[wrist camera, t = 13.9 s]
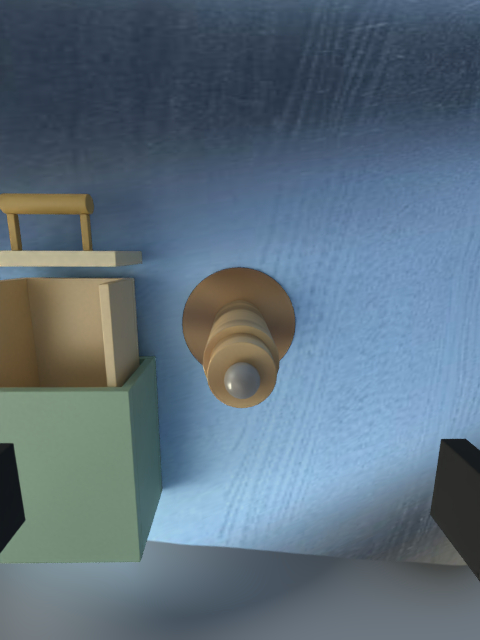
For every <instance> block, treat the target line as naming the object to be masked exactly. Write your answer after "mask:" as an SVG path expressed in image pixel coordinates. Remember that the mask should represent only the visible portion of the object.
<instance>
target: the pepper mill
mask: <svg viewBox="0 0 480 640" xmlns="http://www.w3.org/2000/svg"><path fill="white" fill-rule="evenodd" d="M279 363H280V362H279V353H278V350H277V347H276V345H275V343H274V340H273V338H272V336H271V334H270V331H269V329H268V327H267V324H266V322H265V320H264V317H263V315H262V313H261V312H260V310H259V309H258V308H257V307H256V306H255V305H253V304H252V303H250V302H247V301H242V300H236V301H232V302H229V303H227V304H225V305H224V306H222V307H221V308H220V309H219V311H218V312H217V314H216V316H215V319H214V322H213V325H212V329H211V332H210V335H209V338H208V342H207V345H206V348H205V351H204V355H203V369H204V373H205V375H206V377H207V381H208V385H209V387H210V389H211V391H212V393H213V394H214V396H215V397H216V398H217V399H218V400H220V401H221V402H223V403H224V404H226V405H228V406H232V407H236V408H247V407H252V406H255V405H257V404H259V403H261V402H262V401H264V400H265V399H266V398H267V397H268V396H269V395H270V394H271V392H272V390H273V389H274V386H275V384H276V379H277V373H278V370H279Z"/></svg>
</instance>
